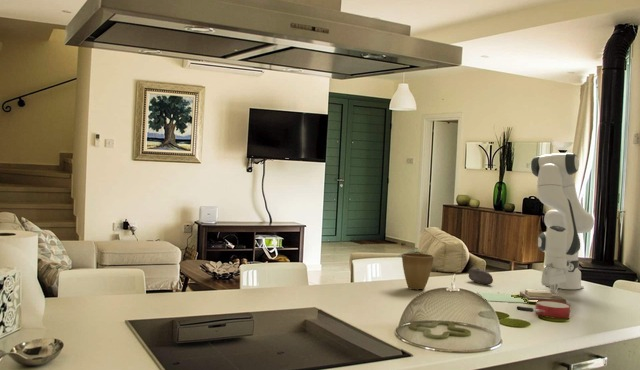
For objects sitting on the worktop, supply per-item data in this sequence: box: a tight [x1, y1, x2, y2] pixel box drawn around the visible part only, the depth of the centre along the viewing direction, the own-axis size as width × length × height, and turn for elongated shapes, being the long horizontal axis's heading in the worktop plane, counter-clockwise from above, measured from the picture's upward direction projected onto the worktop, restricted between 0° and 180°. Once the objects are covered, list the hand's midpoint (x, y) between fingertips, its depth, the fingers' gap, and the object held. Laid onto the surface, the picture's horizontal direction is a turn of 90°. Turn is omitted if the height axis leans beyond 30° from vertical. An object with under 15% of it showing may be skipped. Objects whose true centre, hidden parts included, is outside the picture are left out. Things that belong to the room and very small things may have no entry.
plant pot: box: [401, 252, 435, 290], centre depth 290 cm, size 15×15×16 cm
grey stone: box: [468, 267, 494, 286], centre depth 313 cm, size 15×5×7 cm, turn 28°
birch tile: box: [524, 288, 552, 297], centre depth 278 cm, size 6×10×2 cm, turn 86°
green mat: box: [476, 291, 528, 304], centre depth 278 cm, size 18×18×1 cm
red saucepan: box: [516, 301, 571, 319], centre depth 242 cm, size 32×13×6 cm, turn 136°
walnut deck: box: [519, 291, 567, 304], centre depth 278 cm, size 14×16×2 cm
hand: (553, 293), depth 278 cm, fingers closed
